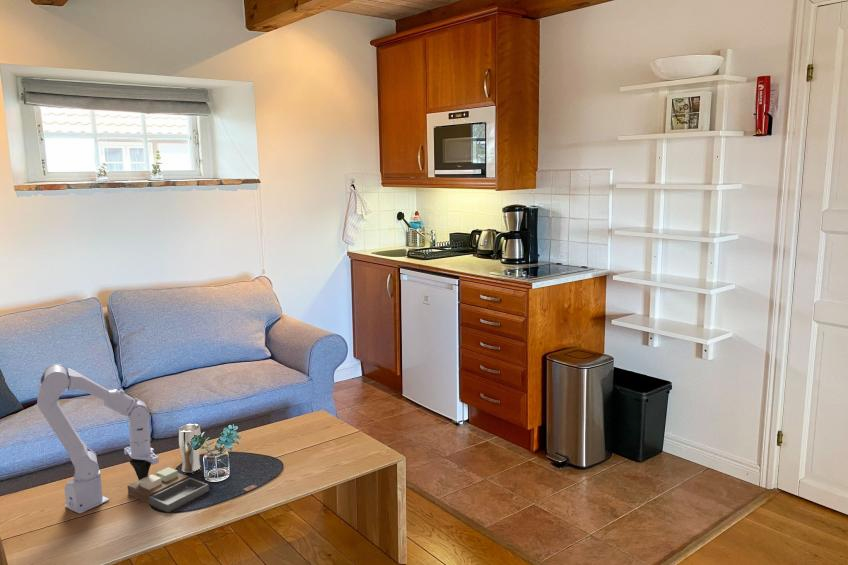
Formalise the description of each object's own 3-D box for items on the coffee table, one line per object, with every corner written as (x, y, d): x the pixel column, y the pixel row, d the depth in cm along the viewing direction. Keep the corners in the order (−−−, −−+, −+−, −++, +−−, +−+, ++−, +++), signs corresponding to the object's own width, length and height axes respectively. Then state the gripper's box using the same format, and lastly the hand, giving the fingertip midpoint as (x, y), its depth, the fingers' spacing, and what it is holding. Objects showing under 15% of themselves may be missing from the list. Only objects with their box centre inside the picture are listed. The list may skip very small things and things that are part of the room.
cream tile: (149, 489, 200) (148, 483, 199) (139, 486, 202) (139, 480, 202) (161, 483, 203) (161, 477, 203) (152, 480, 206) (152, 474, 205)
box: (168, 512, 192) (167, 505, 192) (149, 504, 197) (148, 497, 196) (209, 491, 205) (208, 484, 204) (190, 484, 209) (190, 477, 209)
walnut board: (150, 503, 197) (149, 494, 197) (128, 494, 203) (127, 485, 203) (188, 484, 209) (188, 476, 208) (166, 476, 215) (166, 467, 214)
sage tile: (165, 481, 205) (165, 476, 204) (156, 478, 207) (156, 472, 207) (177, 476, 208) (177, 470, 208) (168, 472, 211) (168, 467, 210)
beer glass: (175, 471, 218) (173, 429, 216) (192, 463, 224) (190, 422, 222) (190, 476, 215) (188, 433, 212) (206, 468, 221) (205, 426, 218)
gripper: (165, 439, 202) (168, 480, 204) (137, 430, 209) (140, 469, 212) (145, 448, 196) (149, 489, 198) (116, 437, 203) (120, 478, 206)
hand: (143, 479), depth 205 cm, fingers closed
